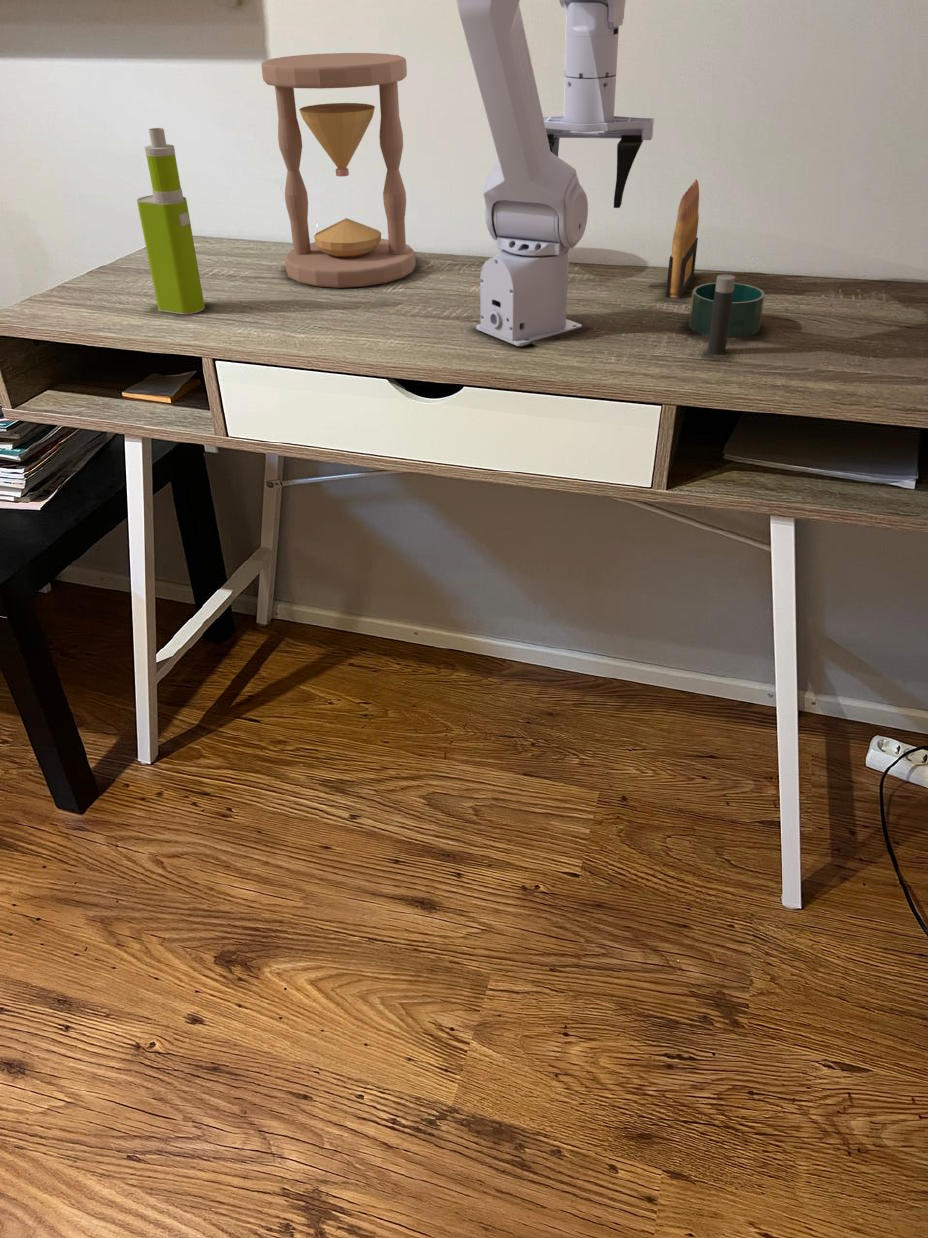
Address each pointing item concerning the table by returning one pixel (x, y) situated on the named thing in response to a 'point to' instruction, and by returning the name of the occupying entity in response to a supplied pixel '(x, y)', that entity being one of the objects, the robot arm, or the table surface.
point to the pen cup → (742, 310)
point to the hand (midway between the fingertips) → (585, 204)
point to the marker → (721, 314)
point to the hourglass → (342, 167)
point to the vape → (169, 233)
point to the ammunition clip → (684, 244)
